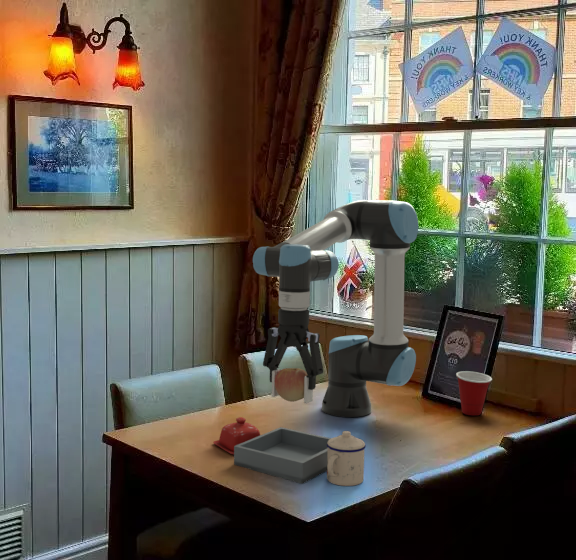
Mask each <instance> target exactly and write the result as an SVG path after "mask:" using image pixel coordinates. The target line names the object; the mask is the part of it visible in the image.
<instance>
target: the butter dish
mask: <svg viewBox="0 0 576 560" xmlns="http://www.w3.org/2000/svg"><path fill="white" fill-rule="evenodd" d="M235 421H236V422H231V423H227V424H226V425H224V426H223V427H222V428H221V431H220V434H219V438H218V440H213V442H212V443H213V444H214V445H216V446H217V447H219V448H221V449H222V450H224V451H225V452H227V453H228V454H231V455H233V456H234V446H236V445H238V444H241V443H243V442H246V441H248V440H251V439H253V438H255V437H258V436H260V435H261V433H260V430H259V429H258V428H257V427H256V426H255V425H253V424H252V423H249V422H246V418H245V417H243V416H240V417H237V418H235Z"/></svg>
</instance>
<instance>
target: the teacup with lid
mask: <svg viewBox="0 0 576 560" xmlns="http://www.w3.org/2000/svg"><path fill="white" fill-rule="evenodd" d="M330 438H331V439H329V440H328V442H327V447H328V455H327V471H326V479H327V481H328V482H329V483H331V484H333V485H337V486H340V487H353V486H358V485H360V484H361V483H363V481H364V476H365V473H364V471H365V449H366V447H367V446H366V443H365V442H364V440H363V439H360V438H359V437H356V436H354V435H352V433H351V431H348V430H344V431H342V433H341V434H339V435H337V436H335V437H330Z"/></svg>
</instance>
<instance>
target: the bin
mask: <svg viewBox="0 0 576 560" xmlns="http://www.w3.org/2000/svg"><path fill="white" fill-rule="evenodd" d="M331 438H332V437H327V436H323V435H317V434H313V433H309V432H304V431H300V430H296V429H291V428H286V427H283V426H282V427H281V426H280V427H278V428H275V429H273V430H271V431H268V432H265V433H263V434H260V436H258V437H255V438H253V439H251V440H248V441H246V442H243V443H241V444H238V445H236V446H234V455H233V465H234V466H237V467H242V468H245V469H248V470H251V471H254V472H257V473H260V474H261V473H262V474H265V475H270V476H272V477H276V478H279V479H283V480H286V481H291V482H293V483H297V484H301V485H304V484H305V483H307V482H308V481H311V480H313V479H315V478H317V477H318V476H320V475H322V474H324V473H327V455H328V447H327V442H328V440H329V439H331Z"/></svg>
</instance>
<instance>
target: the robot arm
mask: <svg viewBox="0 0 576 560" xmlns="http://www.w3.org/2000/svg"><path fill="white" fill-rule="evenodd" d="M418 233H419V219H418V215H417V212H416V210H415V208H414V207H413V205H411V203H409V202H406V201H399V200H368V199H361V200H355V201H351V202H349V203H345V204H344V205H341V206H339V207H337V208H334V209H333V210H331V211H329V212H328V213H327V214H325V216H324V217H323V219H322V220H320V221H318V222H317V223H315V224H313V225H311V226H310V227H307V228H306V229H304V230H302V231H300V232H299V233H297V234H295V235H293V236H292V237H289V238H288V239H286V240H284V241H283V242H280V243H278V244H277V245H275V246H260V247H258V248H257V249H256V250H255V251H254V253H253V256H252V263H253V264H252V267H253V269H254V271H255V273H257V274H258V275H260V276H261V275H262V276H267V277H276V278H279V284H278V285H279V287H278V306H279V307H280V308H279V309H277V310H278V313H277V314H278V316H277V318H278V321H277V322H278V325H279V326H278V327H271V328H268V329H267V336H268V338H267V342H266V343H267V344H266V348H265V352H264V357H263V362H262V365H263V367H266V368H267V369H269V382H270V383H271V397H273V398H275V397H280V396H279V394H278V393H277V391H276V388H275V377H276V375H277V373H278V372H279V371H280V370H282V369H280V365H281V362H282V360H283V358H284V355H285V353H286V351H287V349H288V348H289V347H290V346H291V347H293V348H295V349H296V351H298V353H299V356H300V359H301V361H302V365H303V367H304V369H305V370H304V371H306V372H307V376H305V379H304V398H303V403H304V404H309V403H312V402H313V400H314V399H313V397H314V392H313V391H314V390H315V389H316V386H317V385H316V384H317V382H316V379H317V376H320V375H322V374H323V373H324V367H323V366H324V365H323V360H322V355H321V349H320V347H321V346H320V338H321V337H320V336H321V335H320V333H319V332H316V333H313V332H310V330H309V324H310V309H309V307H311V306H310V304H311V303H310V302H311V301H310V300H311V298H310V297H311V292H310V291H311V289H310V288H311V282H316V281H317V282H318V281H326V280H329V279H332V278H333V277H334V276H335V275H337V273H338V270H339V266H340V265H339V259H338V257H337V255H336V254H335V253H334V252H332V251H331V250H328V248H330V247H332V246H333V245H334V244H336V243H339V244H340V243H342V244H343V243H345V242H346V241H349V240H363V241H369V249H370V250H371V251H372V252H373V253H374V286H373V287H374V290H373V291H374V293H373V295H374V297H373V298H374V301H373V303H374V304H373V305H374V306H373V311H374V312H373V314H374V315H373V334H372V335H371V336H370V337H369V338H368V336H367V335H363V334H362V335H360V334H353V335H344V336H342V335H341V336H338V337H337V336H336V337H334V338H332V339H331V340H330V341H329V348H328V376H327V377H328V380H327V381H328V383H327V387H326V391H325V393H324V396H323V398H322V402H321V411H322V412H323V413H325V414H327V415H330V416H335V417H342V418H358V417H365V416H367V415H370V413H371V412H372V403H371V399H370V395H369V392H368V388H367V382H369V383H371V382H372V383H374V384H375V383H376V384H381V385H382V384H383V385H387V386H396V387H401V386H405V384H407V383H408V382H409V381H410V379H411V378H412V375H413V373H414V370H415V368H416V363H417V353H416V352H415V350H414V348H412V347H409V338H407V336H405V334H404V322H405V321H404V316H405V314H404V310H405V309H404V308H405V306H404V305H405V254H406V253H407V252H408V251H409V250H410V249H411V243H413V242H415V241H416V239H417V237H418ZM279 337H280V339H279ZM278 339H279V342H278ZM308 343H309V344H308ZM276 346H277V347H276Z"/></svg>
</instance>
